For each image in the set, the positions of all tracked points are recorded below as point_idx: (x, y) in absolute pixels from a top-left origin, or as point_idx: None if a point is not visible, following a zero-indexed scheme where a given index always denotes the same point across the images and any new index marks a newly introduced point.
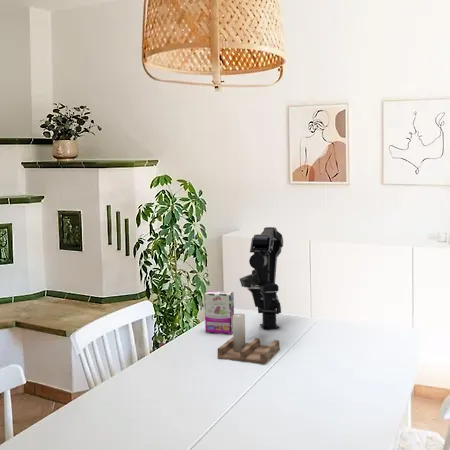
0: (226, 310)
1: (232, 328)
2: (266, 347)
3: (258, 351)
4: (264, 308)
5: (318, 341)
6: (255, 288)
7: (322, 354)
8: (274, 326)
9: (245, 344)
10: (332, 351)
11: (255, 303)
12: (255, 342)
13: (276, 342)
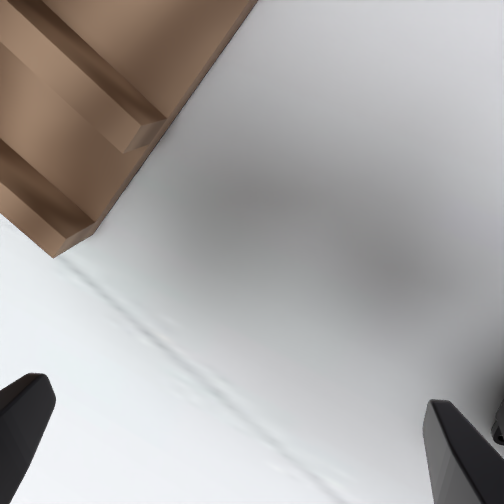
0: None
1: None
2: (86, 160)
3: (18, 71)
4: (27, 383)
5: (167, 449)
6: None
7: (3, 366)
8: (498, 420)
9: (185, 25)
10: None
11: (448, 449)
12: (36, 73)
13: (14, 221)
